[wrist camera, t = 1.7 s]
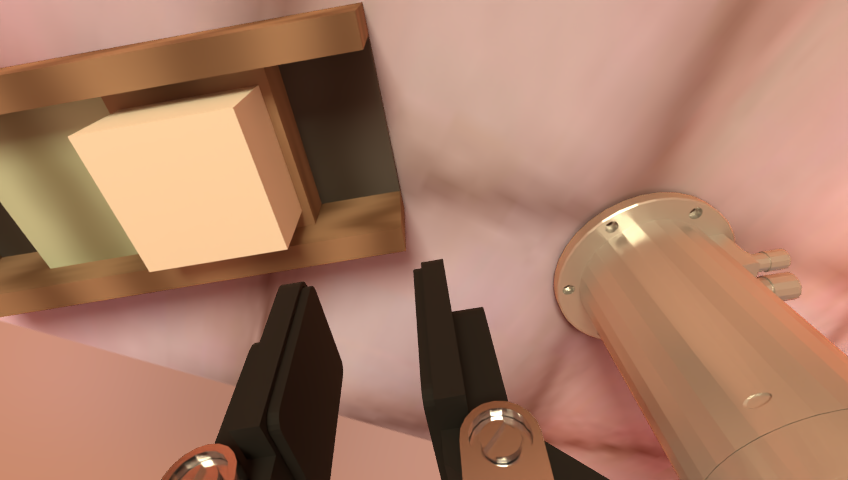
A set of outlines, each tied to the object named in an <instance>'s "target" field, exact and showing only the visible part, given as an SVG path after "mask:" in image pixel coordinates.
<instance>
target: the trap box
mask: <svg viewBox="0 0 848 480" xmlns="http://www.w3.org/2000/svg"><path fill="white" fill-rule="evenodd" d="M256 85H259V88H260V91H261V94H262V97H263V100H264V103H265V106H266V108H267V111H268V114H269V117H270V120H271V123H272V126H273V129H274V132H275V134H276V137H277V140H278V143H279V146H280V149H281V152H282V155H283V158H284V161H285V163H286V166H287V169H288V172H289V175H290V178H291V181H292V184H293V187H294V189H295V192H296V195H297V198H298V201H299V204H300V207H301V210H302V212H301V215H300V217H299V220H298V223H297V226H296V228H295V231H294V234H293V236H292V239H291V242H290V244H289V247H288V249H287V250H281V251H275V252H269V253H263V254H257V255H251V256H245V257H239V258H232V259H226V260H220V261H214V262H208V263H202V264H196V265H190V266H184V267H178V268H172V269H166V270H160V271H154V272H149V270H148V269H147V267H146V265H145V264H144V262H143V260H142V259H141V257H140V255H139V254H138V252H137V250H136V249H135V247H134V246H133V244H132V242H131V241H130V239H129V237H128V236H127V234H126V232H125V231H124V229H123V227H122V226H121V224H120V222H119V221H118V219H117V218H116V216H115V214H114V213H113V211H112V209H111V208H110V206H109V204H108V203H107V201H106V199H105V198H104V196H103V195H102V193H101V191H100V190H99V188H98V186H97V185H96V183H95V181H94V180H93V178H92V176H91V175H90V173H89V171H88V170H87V168H86V167H85V165H84V163H83V162H82V160H81V158H80V157H79V155H78V153H77V152H76V150H75V148H74V147H73V145H72V143H71V142H70V140H69V139H68V136H70V135H72V134H74V133H76V132H78V131H79V130H81V129H83V128H85V127H87V126H89V125H91V124H93V123H95V122H97V121H98V120H100V119H102V118H104V117H106V116H108V115H110V114H112V113H114V112H116V111H117V110H121V109H126V108H132V107H138V106H143V105H149V104H154V103H160V102H166V101H171V100H177V99H183V98H188V97H194V96H200V95H205V94H211V93H216V92H222V91H228V90H233V89H239V88H245V87H250V86H256ZM402 251H406V239H405V217H404V206H403V201H402V196H401V191H400V186H399V181H398V176H397V171H396V166H395V161H394V157H393V152H392V147H391V142H390V137H389V132H388V127H387V122H386V117H385V112H384V107H383V103H382V98H381V93H380V88H379V83H378V78H377V73H376V68H375V63H374V58H373V54H372V49H371V44H370V39H369V34H368V29H367V24H366V19H365V14H364V9H363V4H362V2H361V3H356V4H350V5H345V6H339V7H334V8H328V9H323V10H317V11H312V12H306V13H301V14H296V15H290V16H285V17H279V18H274V19H268V20H263V21H257V22H252V23H246V24H241V25H235V26H230V27H224V28H219V29H213V30H208V31H202V32H197V33H191V34H186V35H180V36H175V37H169V38H164V39H158V40H153V41H147V42H142V43H136V44H131V45H125V46H120V47H114V48H109V49H103V50H98V51H92V52H87V53H81V54H76V55H70V56H65V57H59V58H54V59H48V60H43V61H37V62H32V63H26V64H21V65H16V66H10V67H5V68H0V317H4V316H10V315H16V314H23V313H29V312H35V311H41V310H47V309H53V308H59V307H65V306H72V305H78V304H84V303H90V302H96V301H102V300H108V299H114V298H120V297H127V296H133V295H139V294H145V293H151V292H157V291H163V290H169V289H176V288H182V287H188V286H194V285H200V284H206V283H212V282H218V281H225V280H231V279H237V278H243V277H249V276H255V275H261V274H267V273H273V272H280V271H286V270H292V269H298V268H304V267H310V266H316V265H322V264H329V263H335V262H341V261H347V260H353V259H359V258H365V257H371V256H378V255H384V254H390V253H396V252H402Z"/></svg>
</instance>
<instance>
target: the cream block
mask: <svg viewBox="0 0 848 480" xmlns="http://www.w3.org/2000/svg"><path fill="white" fill-rule="evenodd" d="M68 139H69V140H70V142H71V143H72V145H73V147H74V148H75V150H76V152H77V153H78V155H79V157H80V158H81V160H82V162H83V163H84V165H85V167H86V168H87V170H88V171H89V173H90V175H91V176H92V178H93V180H94V181H95V183H96V185H97V186H98V188H99V190H100V191H101V193H102V195H103V196H104V198H105V199H106V201H107V203H108V204H109V206H110V208H111V209H112V211H113V213H114V214H115V216H116V218H117V219H118V221H119V222H120V224H121V226H122V227H123V229H124V231H125V232H126V234H127V236H128V237H129V239H130V241H131V242H132V244H133V246H134V247H135V249H136V250H137V252H138V254H139V255H140V257H141V259H142V260H143V262H144V264H145V265H146V267H147V269H148V270H149V272H154V271H160V270H166V269H172V268H178V267H184V266H190V265H196V264H202V263H208V262H214V261H220V260H226V259H232V258H239V257H245V256H251V255H257V254H263V253H269V252H275V251H281V250H287V249H288V247H289V244H290V242H291V239H292V236H293V234H294V231H295V228H296V226H297V223H298V220H299V217H300V215H301V212H302V210H301V207H300V204H299V201H298V198H297V195H296V192H295V189H294V187H293V184H292V181H291V178H290V175H289V172H288V169H287V166H286V163H285V161H284V158H283V155H282V152H281V149H280V146H279V143H278V140H277V137H276V134H275V132H274V129H273V126H272V123H271V120H270V117H269V114H268V111H267V108H266V106H265V103H264V100H263V97H262V94H261V91H260V88H259V85H256V86H250V87H245V88H239V89H233V90H228V91H222V92H216V93H211V94H205V95H200V96H194V97H188V98H183V99H177V100H171V101H166V102H160V103H154V104H149V105H143V106H138V107H132V108H126V109H121V110H117V111H116V112H114V113H112V114H110V115H108V116H106V117H104V118H102V119H100V120H98V121H97V122H95V123H93V124H91V125H89V126H87V127H85V128H83V129H81V130H79V131H78V132H76V133H74V134H72V135H70V136H68Z"/></svg>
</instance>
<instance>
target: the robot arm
mask: <svg viewBox="0 0 848 480" xmlns="http://www.w3.org/2000/svg"><path fill="white" fill-rule="evenodd" d="M790 265H791V258H790V255H789V254H788V252H787V251H786V250H784V249H775V250H769V251H762V252H759V253H756V254H750V253H749V252H745V251H744V250H743V249H741V248H740V247H739V246H738V245H737V244H736V243H735V237H734V232H733V230H732V228H731V226H730V224H729V222H728V221H727V219H726V218H725V217H724V216H723V215H722V214H721V213H720V212H719V211H718V210H716V209H715V208H714V207H712V206H711V205H710V204H708V203H707V202H705V201H703V200H701V199H699V198H696V197H694V196H692V195H687V194H682V193H677V192H658V193H652V194H645V195H640V196H637V197H634V198H631V199H628V200H625V201H622V202H620V203H618V204H616V205H614V206H612V207H610V208H608V209H606V210H604V211H603V212H601V213H600V214H598V215H597V216H596V217H594V218H593V219H591V220H590V221H589V222H588V223H587V224H585V225H584V226H583V227H582V228H581V229H580V230H579V231H578V232H577V233H576V234H575V235H574V237H573V238H572V239H571V241H570V242H569V243H568V245H567V246H566V247H565V249H564V251H563V253H562V255H561V257H560V259H559V261H558V264H557V268H556V271H555V276H554V291H555V296H556V300H557V302H558V304H559V307H560V309H561V311H562V313H563V314H564V316H565V317H566V319H567V320H568V322H569V323H571V324H572V325H573V326H574V327H575V328H576V329H577V330H579V331H581V332H583V333H585V334H586V335H589V336H592V337H594V338H598V339H602V341H603V343H604V345H605V346H606V348H607V350H608V352H609V354H610V355H611V357H612V359H613V361H614V363H615V364H616V366H617V368H618V370H619V371H620V373H621V375H622V377H623V379H624V380H625V382H626V384H627V386H628V388H629V389H630V391H631V393H632V395H633V397H634V398H635V400H636V402H637V404H638V406H639V407H640V409H641V411H642V413H643V415H644V416H645V418H646V420H647V422H648V424H649V425H650V427H651V429H652V431H653V432H654V434H655V436H656V438H657V440H658V441H659V443H660V445H661V447H662V449H663V450H664V452H665V454H666V456H667V458H668V459H669V461H670V463H671V465H672V467H673V468H674V470H675V472H676V474H677V476H678V477H679V479H680V480H848V356H847V355H846V354H844V353H843V352H842V351H841V350H840V349H839V348H838V347H836V346H835V345H834V344H833V343H832V342H831V341H829V340H828V339H827V338H826V337H825V336H824V335H822V334H821V333H820V332H819V331H818V330H817V329H815V328H814V327H813V326H812V325H811V324H810V323H808V322H807V321H806V320H805V319H804V318H803V317H801V316H800V315H799V314H798V313H797V312H796V311H794V310H793V309H792V308H791V307H790V306H789V305H787V304H786V303H785V302H784V301H787V300H794V299H797V298H799V296H800V295H801V284H800V281H799V279H798V278H797V277H796V276H795V275H794V274H792V273H790V272H784V273H777V274H771V275H765V276H759V277H758V278H756V277H757V273H758V272H762V271H764V272H768V271H774V270H781V269H786V268H788V267H789V266H790ZM413 272H414V287H415V303H416V318H417V333H418V348H419V363H420V378H421V391H422V399H423V405H424V410H425V415H426V419H427V423H428V427H429V431H430V435H431V439H432V443H433V447H434V451H435V456H436V460H437V464H438V468H439V472H440V476H441V480H609V479H607V478H606V477H604V476H602V475H601V474H599V473H597V472H596V471H594V470H592V469H591V468H589V467H587V466H586V465H584V464H582V463H581V462H579V461H577V460H576V459H574V458H572V457H571V456H569V455H567V454H566V453H564V452H562V451H561V450H559V449H557V448H555V447H554V446H552V445H550V444H549V443H547V442H545V441H544V439H543V435H542V431H541V429H540V427H539V424H538V422H537V420H536V419H535V418H534V417H533V416H532V414H531V413H530V412H529V411H528V410H526V409H524V408H523V407H521V406H520V405H518V404H514V403H511V402H508V399H507V395H506V392H505V388H504V384H503V380H502V376H501V373H500V369H499V365H498V361H497V357H496V354H495V350H494V346H493V342H492V339H491V335H490V331H489V327H488V323H487V320H486V316H485V312H484V309H483V307H479V308H473V309H467V310H460V311H454V312H452V311H451V305H450V299H449V293H448V287H447V281H446V275H445V269H444V263H443V259H440V260H434V261H428V262H421V269H415V270H413ZM342 379H343V365H342V361H341V358H340V355H339V352H338V350H337V347H336V344H335V342H334V339H333V336H332V333H331V331H330V328H329V325H328V322H327V320H326V317H325V314H324V312H323V309H322V306H321V303H320V301H319V298H318V295H317V292H316V290H315V288H314V287H313V286H310V287H307V285H306V283H305V282H298V283H292V284H286V285H281V286H280V287H279V289H278V292H277V295H276V298H275V301H274V303H273V306H272V309H271V312H270V315H269V317H268V320H267V323H266V326H265V329H264V332H263V334H262V337H261V340H260V342H258V343H255V344H253V345H252V347H251V349H250V350H249V353H248V356H247V358H246V361H245V364H244V366H243V369H242V372H241V374H240V377H239V380H238V382H237V385H236V388H235V390H234V393H233V396H232V398H231V401H230V404H229V406H228V409H227V412H226V415H225V417H224V420H223V423H222V425H221V428H220V431H219V433H218V436H217V439H216V441H215V444H207V445H204V446H201V447H198V448H196V449H194V450H192V451H190V452H189V453H187V454H185V455H184V456H182V457H181V458H180V459H179V460H178V461H177V462H175V463H174V464H173V465H172V466H171V467H170V469H169V470H168V471H167V472H166V473H165V475H164V476H163V477H162V479H161V480H330V476H331V468H332V459H333V452H334V443H335V435H336V427H337V419H338V411H339V403H340V395H341V387H342Z"/></svg>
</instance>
